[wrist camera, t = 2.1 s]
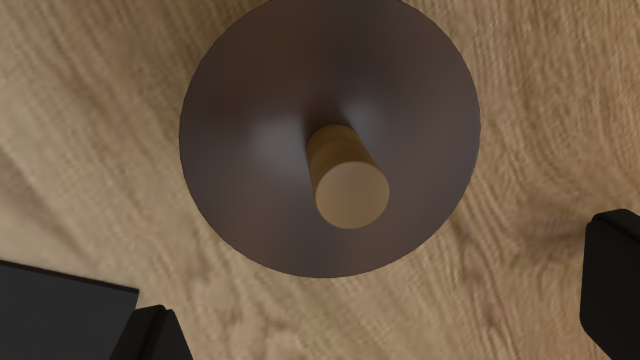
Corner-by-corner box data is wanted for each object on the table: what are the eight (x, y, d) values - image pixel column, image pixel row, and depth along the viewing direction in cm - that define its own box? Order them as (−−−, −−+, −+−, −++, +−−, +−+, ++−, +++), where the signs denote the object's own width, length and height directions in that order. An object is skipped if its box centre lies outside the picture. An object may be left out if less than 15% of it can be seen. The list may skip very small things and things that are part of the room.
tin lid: (202, 273, 22) (177, 362, 16) (162, -12, 17) (107, -22, 11) (453, 257, 23) (509, 335, 18) (488, -14, 18) (583, -23, 12)
